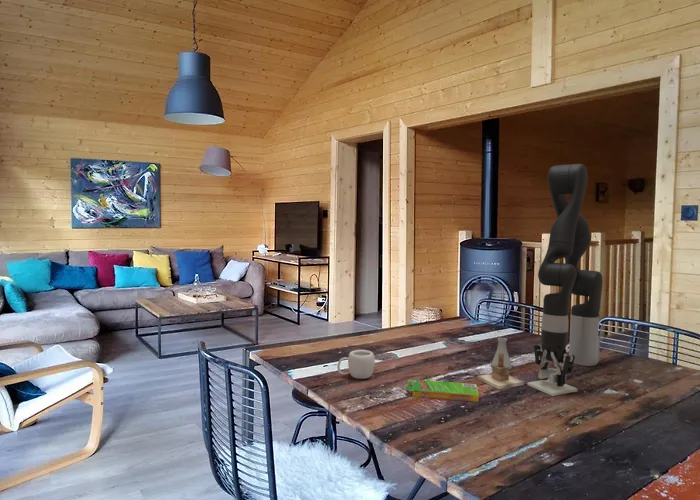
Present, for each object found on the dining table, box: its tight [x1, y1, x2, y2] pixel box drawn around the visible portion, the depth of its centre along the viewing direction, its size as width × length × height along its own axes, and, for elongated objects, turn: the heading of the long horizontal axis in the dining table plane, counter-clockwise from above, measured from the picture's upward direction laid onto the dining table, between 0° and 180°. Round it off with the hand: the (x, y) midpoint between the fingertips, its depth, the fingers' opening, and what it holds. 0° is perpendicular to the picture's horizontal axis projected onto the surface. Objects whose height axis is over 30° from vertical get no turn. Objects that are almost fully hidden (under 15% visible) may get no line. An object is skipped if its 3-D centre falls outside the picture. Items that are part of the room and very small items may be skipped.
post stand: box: [476, 353, 525, 390], centre depth 159 cm, size 10×10×9 cm
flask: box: [490, 337, 513, 370], centre depth 175 cm, size 7×7×10 cm
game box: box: [405, 378, 480, 403], centre depth 149 cm, size 3×10×20 cm
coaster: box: [527, 378, 578, 397], centre depth 155 cm, size 10×10×1 cm
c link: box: [538, 367, 568, 383], centre depth 155 cm, size 6×6×2 cm
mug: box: [336, 349, 375, 380], centre depth 163 cm, size 12×8×8 cm
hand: (552, 382), depth 155 cm, fingers closed on c link, 5 cm apart
